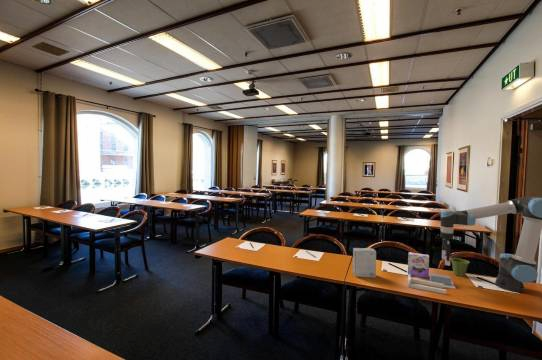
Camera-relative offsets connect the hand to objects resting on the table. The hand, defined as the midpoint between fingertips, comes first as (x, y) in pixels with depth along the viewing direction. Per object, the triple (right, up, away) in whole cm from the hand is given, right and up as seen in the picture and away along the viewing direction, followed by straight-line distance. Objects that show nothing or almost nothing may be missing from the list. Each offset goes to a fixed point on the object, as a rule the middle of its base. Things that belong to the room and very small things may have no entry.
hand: (445, 262), depth 182 cm
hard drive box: (-53, -15, +14) cm, 57 cm away
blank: (-3, -15, +2) cm, 16 cm away
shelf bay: (-17, -16, -5) cm, 23 cm away
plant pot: (+23, -16, +18) cm, 33 cm away
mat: (0, -16, +1) cm, 16 cm away
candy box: (-11, -15, +16) cm, 25 cm away
